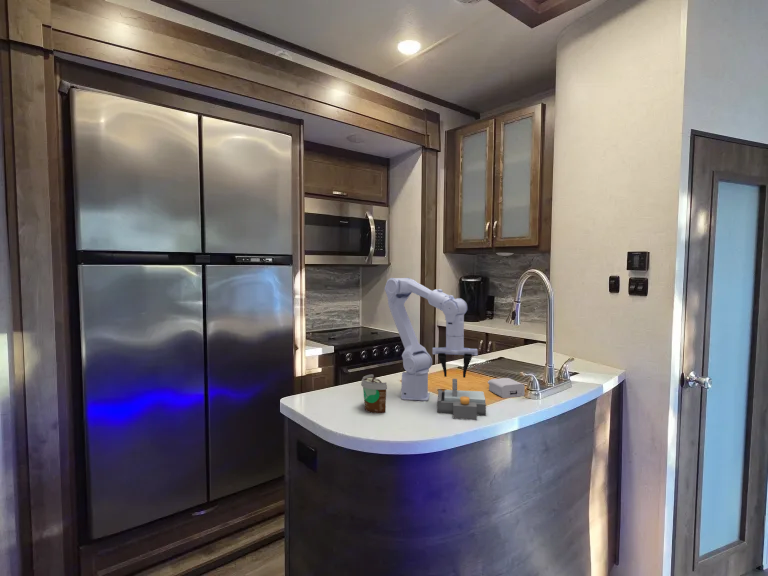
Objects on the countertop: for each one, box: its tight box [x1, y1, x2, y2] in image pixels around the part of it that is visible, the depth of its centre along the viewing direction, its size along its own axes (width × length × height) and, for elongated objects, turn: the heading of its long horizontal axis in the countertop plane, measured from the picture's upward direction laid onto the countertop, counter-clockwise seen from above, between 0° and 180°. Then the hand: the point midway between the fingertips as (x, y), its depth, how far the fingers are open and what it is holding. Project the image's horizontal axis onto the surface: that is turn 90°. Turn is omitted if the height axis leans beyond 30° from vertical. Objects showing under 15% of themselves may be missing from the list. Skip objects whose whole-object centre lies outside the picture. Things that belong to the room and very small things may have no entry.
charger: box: [487, 377, 526, 399], centre depth 147 cm, size 5×9×15 cm
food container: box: [360, 374, 388, 414], centre depth 128 cm, size 12×6×10 cm, turn 23°
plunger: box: [460, 396, 469, 404], centre depth 121 cm, size 3×3×2 cm
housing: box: [436, 389, 487, 421], centre depth 127 cm, size 15×16×4 cm
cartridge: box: [444, 378, 486, 403], centre depth 129 cm, size 13×9×8 cm
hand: (454, 376), depth 129 cm, fingers open, 5 cm apart
